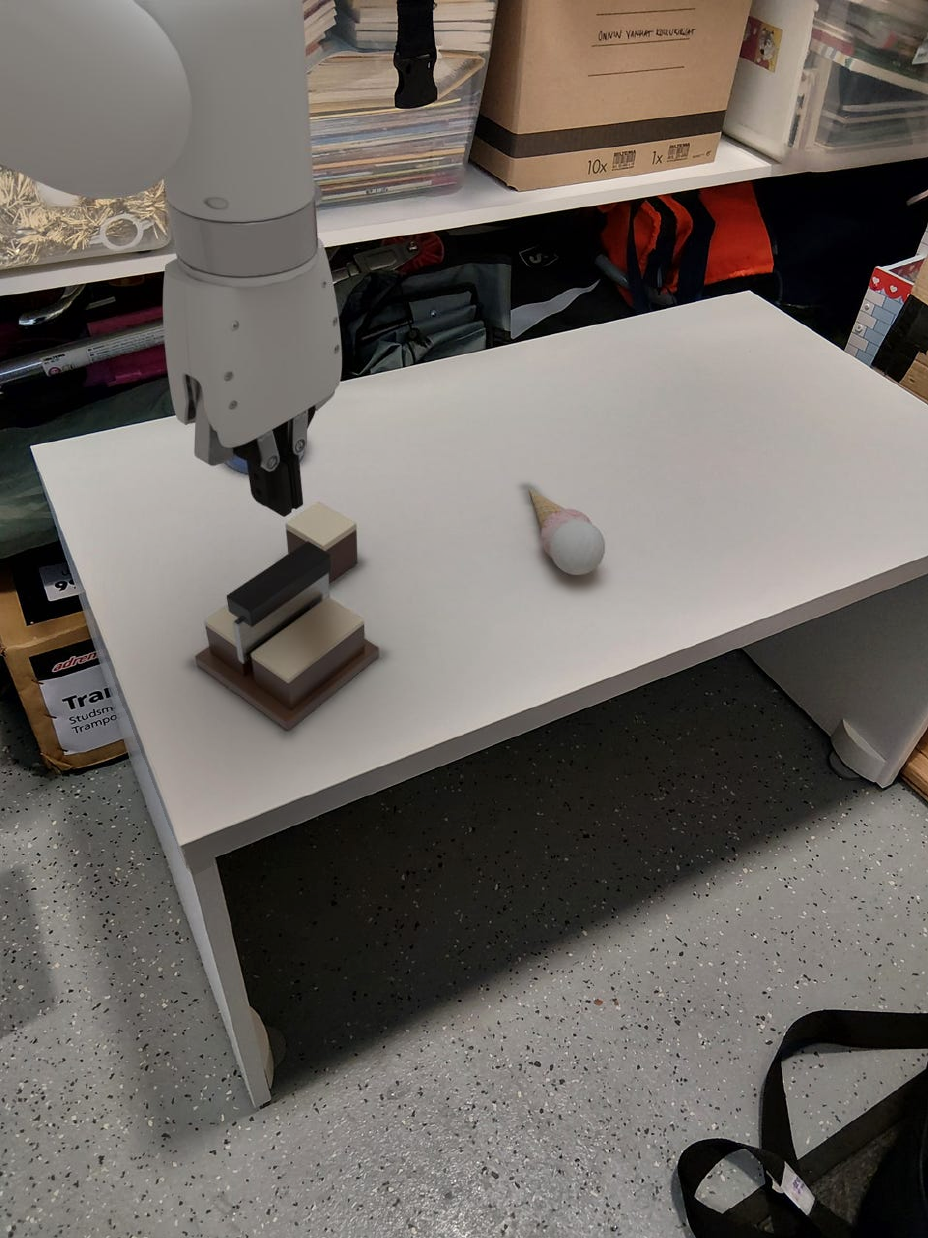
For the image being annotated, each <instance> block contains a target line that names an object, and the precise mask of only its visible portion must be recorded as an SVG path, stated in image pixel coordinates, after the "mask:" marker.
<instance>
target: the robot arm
mask: <svg viewBox="0 0 928 1238" xmlns="http://www.w3.org/2000/svg"><path fill="white" fill-rule="evenodd" d="M303 4H304V3H303V0H0V165H2V166H4V167H6V168H8V169H10V170H11V171H14V172H17V173H18V174H20V175H24V176H25V177H27V178H29V179H31V180H34V181H36V182H37V183H40V184H42V185H44V186H47V187H49V188H51V189H54V190H56V191H60V192H62V193H66V194H68V195H71V196H77V197H83V198H87V199H93V200H116V199H121V198H122V199H123V198H128V197H132V196H135V195H138V194H141V193H142V192H146V191H147V190H150V189H151V188H152V187H154V186H155V185H157V184H158V183H160V182H161V181H163V187H164V192H165V197H166V202H167V203H166V205H167V210H168V216H169V221H170V226H171V227H170V228H171V233H172V238H173V245H174V250H175V255H176V258H175V259H173V260H171V261H170V262H167V263H166V264H165V266H164V276H163V287H162V321H163V322H162V323H163V325H162V326H163V337H164V338H163V339H164V348H165V349H164V351H165V359H166V368H167V376H168V383H169V390H170V396H171V402H172V406H173V410H174V411H173V412H174V414H175V417H176V419H177V420H178V421H179V422H180V423H182V424H183V425H185V426H187V425H189V424H190V425H191V424H194V428H195V429H194V448H193V449H194V450H193V452H194V456H195V457H196V458H197V459H198V460H200V461H202V462H204V463H206V464H207V465H209V466H211V467H216V466H217V465H221V464H226V462H228V461H232V460H233V459H234V458H237V457H239V458H241V459H243V460H246V461H247V468H248V474H247V475H248V482H249V487H250V488H249V489H250V494H251V496H252V498H253V499H254V501H255V502H256V503H258V504H260V505H261V506H263V507H266V508H268V509H269V510H271V511H272V512H275V513H276V514H278V515H279V516H281V517H282V518H286V517H287V516H289V515H290V514H291V513H292V511H293V510H298V509H299V508H300V507H302V506H304V497H303V495H304V494H303V487H302V475H301V463H300V461H299V454H301V453H302V452H303V451H304V452H305V450H306V448H307V445H308V429H309V427H310V425H311V423H312V421H313V419H314V418H315V415H316V412H318V411H320V409H321V408H322V407H324V405H325V404H326V403H328V402H329V401H330V400H331V399H332V398H333V397H334V395H335V392H336V389H337V388H338V387H339V385H340V382H341V379H342V371H343V370H342V368H343V353H342V352H343V350H342V338H341V336H342V335H341V326H340V318H339V309H338V303H337V296H336V291H335V290H336V289H335V286H334V281H333V276H332V272H331V267H330V263H329V258H328V256H327V252H326V249H325V246H324V242H323V241H322V239H320V238H319V235H318V222H317V220H318V219H317V218H318V217H317V206H319V205H321V204H322V202H323V199H324V194H323V191H322V188H321V186H320V185H319V183H318V182H317V181H315V180H314V177H315V176H314V164H313V163H314V160H313V147H312V146H313V145H312V144H313V143H312V130H311V129H312V128H311V115H310V100H309V99H310V98H309V97H310V96H309V82H308V81H309V80H308V67H307V48H306V32H305V18H304V17H305V16H304V15H305V14H304V5H303Z"/></svg>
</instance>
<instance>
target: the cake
mask: <svg viewBox="0 0 928 1238" xmlns="http://www.w3.org/2000/svg"><path fill="white" fill-rule="evenodd" d="M237 618H238V617H236V616H235V615H233V614H232V613H230V612H229V609H228V604H226V605H225V606H223V607H221V609H219V610H217V611H216V612H215V613H213V614H212V615H210V616H208V617H206V619H204V621H203V623H204V627H205V628H204V629H205V632H206V633H205V634H206V637H207V642H208V646H207V647H206V648H205V649H203V650H202V651H201V652H199V653H198V654H196V655H195V656H194V657H195V662H196V665H197V666H198V667H199V668H200V669H202V670H204V671H205V672H206V673H208V674H209V675H210V676H211V677H213V678H214V679H216V680H217V681H219V682H220V683H221V684H222V685H224V686H225V687H227V688H228V689H230V690H231V691H232V692H234V693H235V694H237V696H239V697H240V698H242V699H243V700H244V701H246V702H247V703H249V704H250V705H252V706H253V707H254V708H255V709H257V710H258V711H260V712H261V713H262V714H264V715H265V716H267V718H269V719H271V720H272V721H273V722H275V723H276V724H277V725H279V727H282V728H283V729H284V730H286V731H287V732H289V731H290V730H292V728H294V727H295V726H296V725H298V724H299V723H300V722H301V721H302V720H304V719H306V717H307V716H309V715H310V714H311V713H312V712H313V711H315V710H316V709H317V708H318V707H319V706H321V705H322V704H323V703H324V702H325V701H327V700H329V698H331V697H332V696H333V695H334V694H335V693H336V692H338V691H339V690H340V689H341V688H342V687H344V686H345V685H346V684H347V683H348V682H350V681H351V680H352V679H354V678H355V677H356V676H357V675H358V674H360V673H361V672H362V671H363V670H364V669H365V668H367V667H368V666H369V665H370V664H371V663H373V662H374V661H375V660H376V659H377V658H379V657H380V647H379V646H377V645H376V644H374V643H372V642H371V641H369V640H368V639H366V637H365V636H366V635H365V619H364V618H363V617H361V616H360V615H358V614H356V613H355V612H354V611H352V610H351V609H349V608H347V607H346V606H344V605H342V604H341V603H339V602H338V601H336V600H335V599H333V598H332V597H331V596H330V597H327V598H325V599H324V600H323V601H321V602H320V603H319V604H317V605H316V606H315V607H313V608H312V609H310V610H309V611H308V612H306V613H305V614H304V615H302V616H301V617H300V618H298V619H297V620H295V621H294V622H293V623H291V624H290V625H289V626H287V627H286V628H285V629H283V630H282V631H280V632H279V633H278V634H276V635H275V636H274V637H272V638H271V639H270V640H268V641H267V642H266V643H264V644H263V645H261V646H260V647H259V648H257V649H256V650H255V651H253V652H252V653H251V659H250V660H248V661H247V662H245V663H244V664H243V663H242V662H240V661H239V660H238V654H237V648H236V642H235V635H234V629H233V623H232V622H233V621H234V620H236V619H237Z"/></svg>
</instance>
